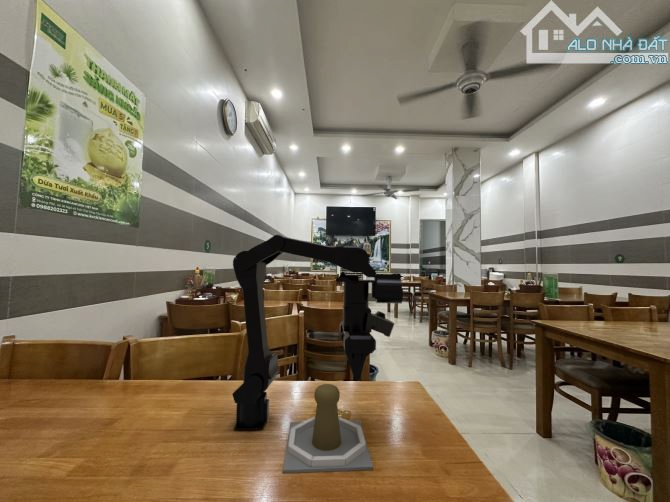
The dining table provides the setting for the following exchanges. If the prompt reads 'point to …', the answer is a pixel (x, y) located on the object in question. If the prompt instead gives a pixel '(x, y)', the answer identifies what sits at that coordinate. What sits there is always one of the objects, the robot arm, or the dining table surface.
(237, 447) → the dining table surface
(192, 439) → the dining table surface
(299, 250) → the robot arm
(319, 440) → the olive brown pawn
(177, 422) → the dining table surface
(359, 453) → the collar plate
